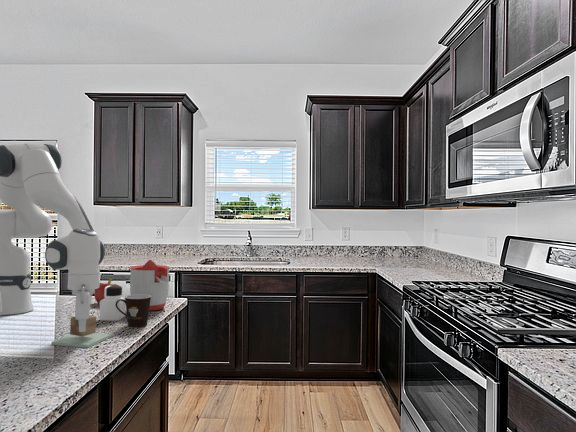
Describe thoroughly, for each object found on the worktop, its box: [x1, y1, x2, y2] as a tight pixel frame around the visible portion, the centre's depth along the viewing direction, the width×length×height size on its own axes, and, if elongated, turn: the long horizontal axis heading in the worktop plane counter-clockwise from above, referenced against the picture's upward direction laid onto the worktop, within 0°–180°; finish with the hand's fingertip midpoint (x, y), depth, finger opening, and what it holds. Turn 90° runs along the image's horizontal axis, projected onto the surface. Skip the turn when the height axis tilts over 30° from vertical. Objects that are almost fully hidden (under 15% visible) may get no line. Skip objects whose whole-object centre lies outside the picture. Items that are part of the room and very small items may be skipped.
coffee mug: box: [116, 294, 151, 328], centre depth 158 cm, size 12×9×10 cm
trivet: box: [51, 332, 112, 349], centre depth 138 cm, size 12×12×1 cm
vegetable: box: [94, 278, 120, 304], centre depth 193 cm, size 11×10×10 cm
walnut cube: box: [69, 314, 97, 337], centre depth 138 cm, size 5×5×5 cm
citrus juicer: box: [129, 259, 171, 312], centre depth 184 cm, size 16×17×20 cm
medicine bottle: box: [99, 284, 126, 322], centre depth 166 cm, size 7×7×12 cm
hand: (82, 327), depth 138 cm, fingers closed on walnut cube, 7 cm apart
